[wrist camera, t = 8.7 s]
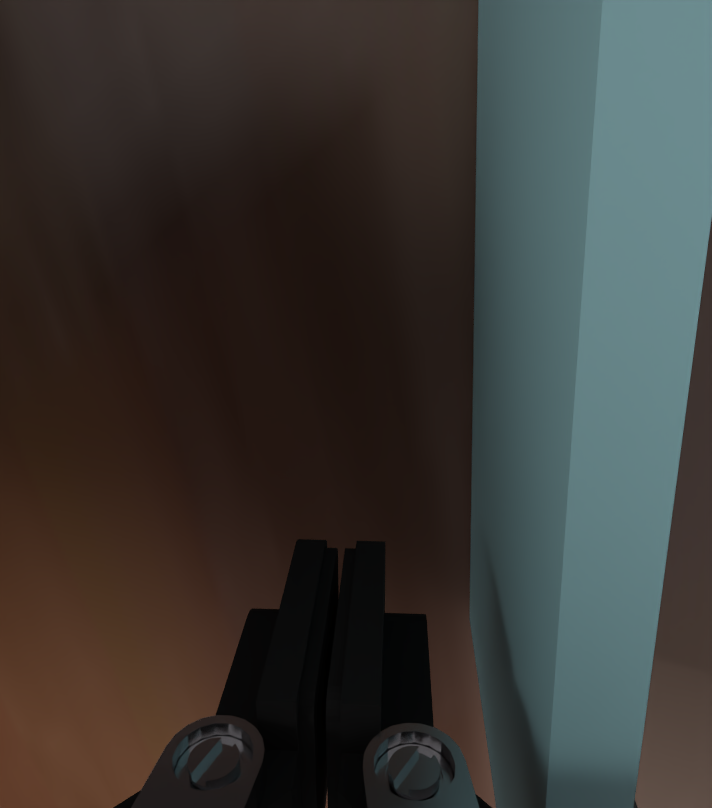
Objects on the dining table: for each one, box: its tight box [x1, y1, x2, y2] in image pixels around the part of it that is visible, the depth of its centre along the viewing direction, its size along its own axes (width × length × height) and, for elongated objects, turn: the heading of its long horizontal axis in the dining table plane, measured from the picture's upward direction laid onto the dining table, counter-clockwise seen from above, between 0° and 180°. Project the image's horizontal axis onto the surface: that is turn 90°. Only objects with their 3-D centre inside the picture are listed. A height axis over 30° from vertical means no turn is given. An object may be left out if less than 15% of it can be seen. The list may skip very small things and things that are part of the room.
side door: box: [470, 0, 712, 808], centre depth 10 cm, size 2×19×9 cm, turn 2°
